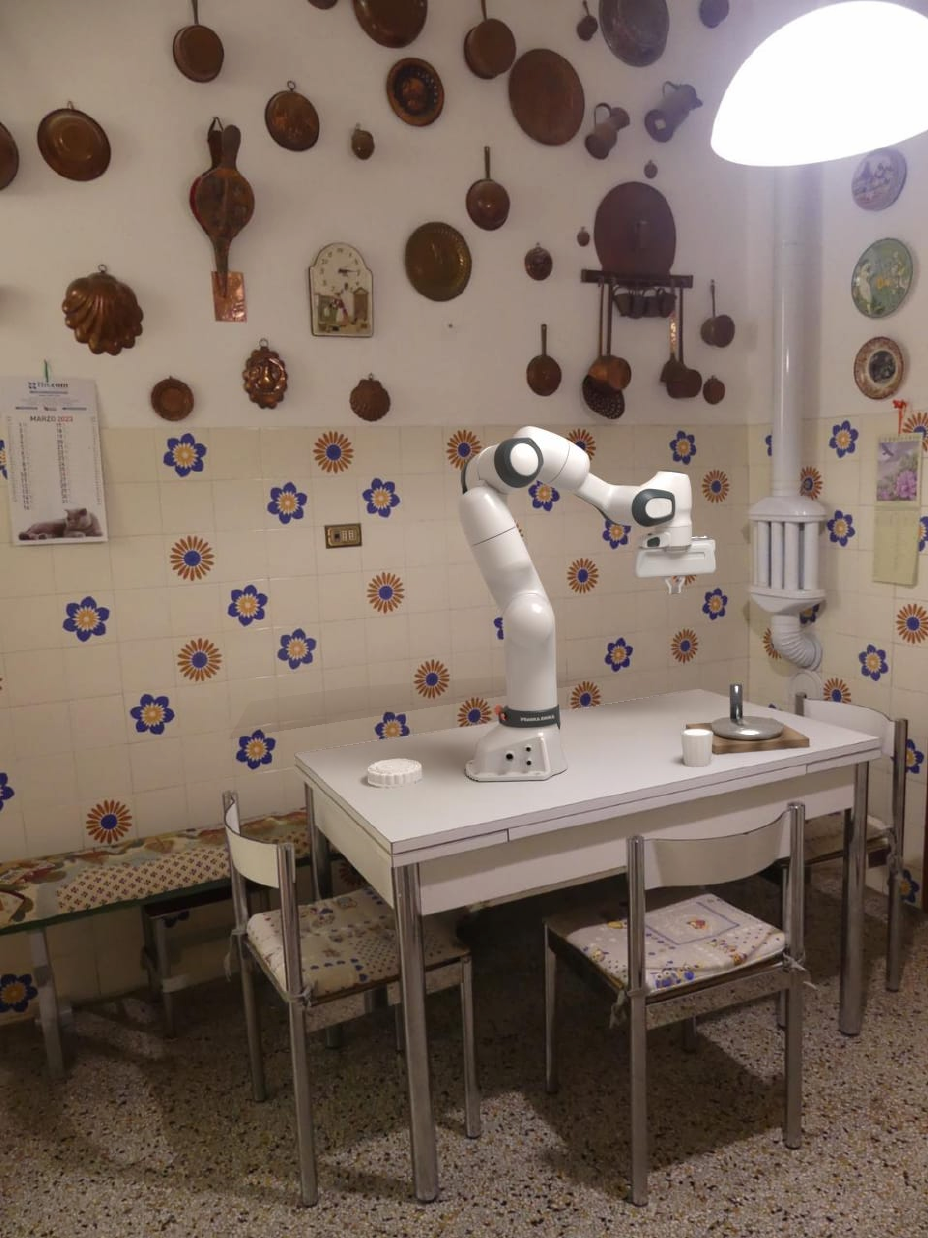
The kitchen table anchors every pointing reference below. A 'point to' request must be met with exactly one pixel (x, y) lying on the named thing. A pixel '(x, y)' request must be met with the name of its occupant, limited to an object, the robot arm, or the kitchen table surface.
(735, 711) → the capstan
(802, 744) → the dial board
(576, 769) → the kitchen table surface
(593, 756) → the kitchen table surface
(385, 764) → the mooncake
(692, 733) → the white fluted cup
